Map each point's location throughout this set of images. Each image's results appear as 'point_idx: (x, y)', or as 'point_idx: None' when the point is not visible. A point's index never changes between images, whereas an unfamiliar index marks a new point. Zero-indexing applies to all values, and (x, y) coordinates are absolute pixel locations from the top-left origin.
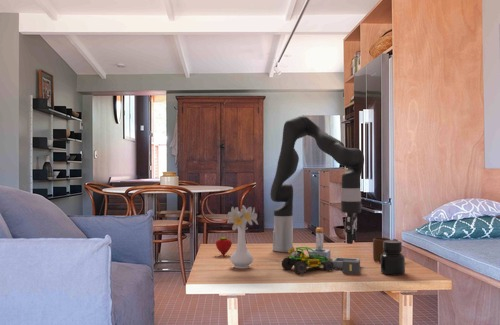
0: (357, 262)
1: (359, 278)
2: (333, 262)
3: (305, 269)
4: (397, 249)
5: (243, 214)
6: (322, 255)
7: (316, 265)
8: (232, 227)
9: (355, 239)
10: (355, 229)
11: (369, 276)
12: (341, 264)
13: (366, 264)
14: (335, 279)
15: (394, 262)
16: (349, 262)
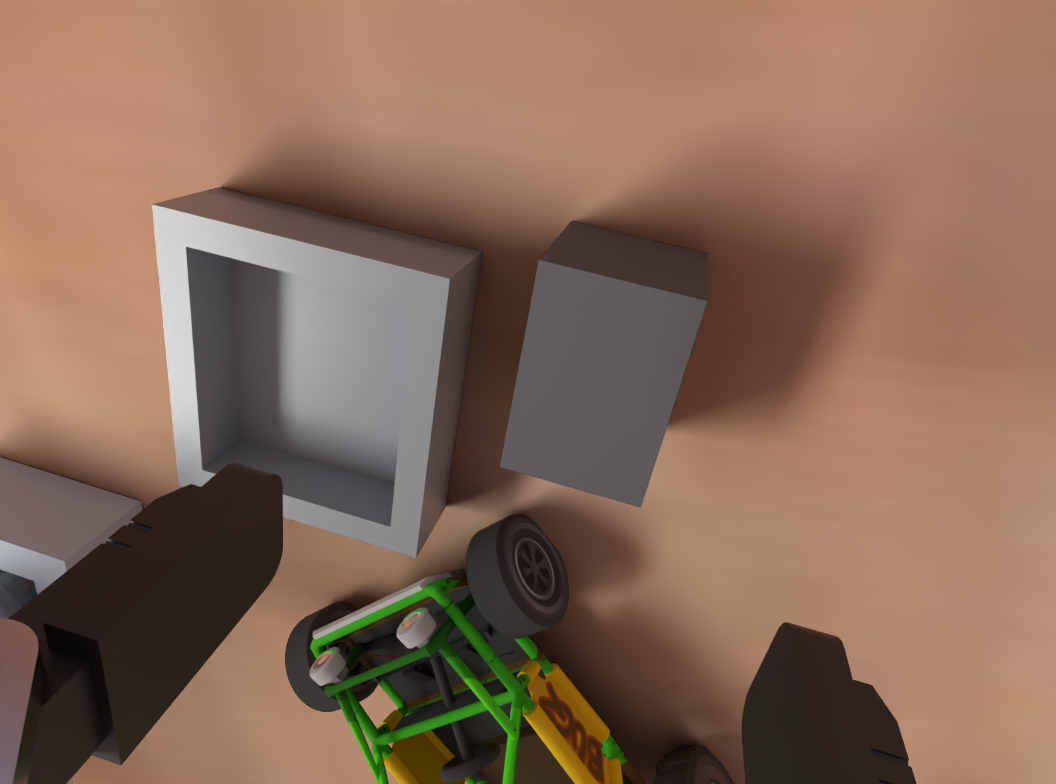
0: (700, 316)
1: (984, 271)
2: (423, 531)
3: (699, 770)
4: None
5: None
6: None
7: (568, 686)
8: None
9: (268, 480)
10: (34, 687)
11: (857, 113)
12: (439, 445)
13: (91, 89)
14: (1006, 546)
15: None
16: (667, 423)
